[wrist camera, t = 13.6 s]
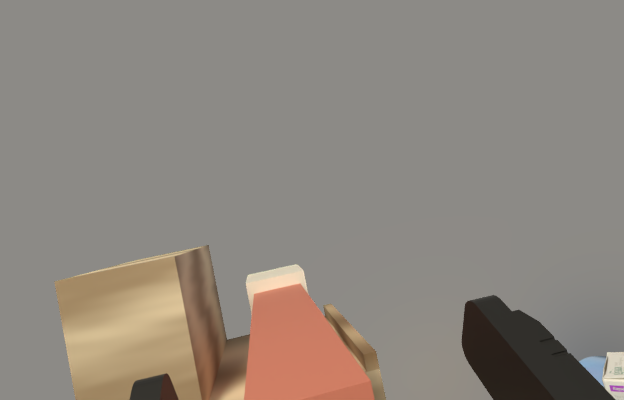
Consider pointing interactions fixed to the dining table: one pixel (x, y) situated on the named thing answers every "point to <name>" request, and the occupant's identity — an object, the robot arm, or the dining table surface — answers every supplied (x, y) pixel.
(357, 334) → the stand
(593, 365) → the dining table surface
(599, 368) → the dining table surface
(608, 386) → the syrup box
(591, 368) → the dining table surface
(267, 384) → the block
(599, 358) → the dining table surface
